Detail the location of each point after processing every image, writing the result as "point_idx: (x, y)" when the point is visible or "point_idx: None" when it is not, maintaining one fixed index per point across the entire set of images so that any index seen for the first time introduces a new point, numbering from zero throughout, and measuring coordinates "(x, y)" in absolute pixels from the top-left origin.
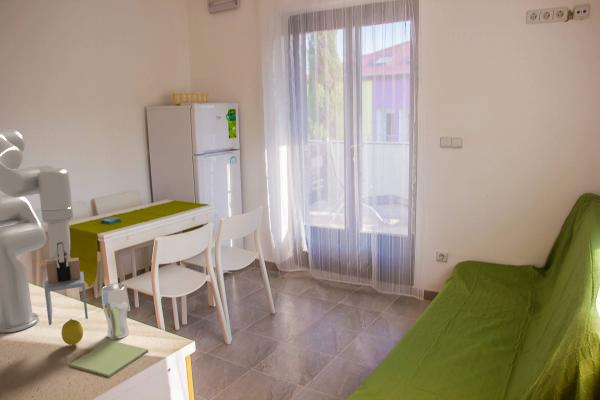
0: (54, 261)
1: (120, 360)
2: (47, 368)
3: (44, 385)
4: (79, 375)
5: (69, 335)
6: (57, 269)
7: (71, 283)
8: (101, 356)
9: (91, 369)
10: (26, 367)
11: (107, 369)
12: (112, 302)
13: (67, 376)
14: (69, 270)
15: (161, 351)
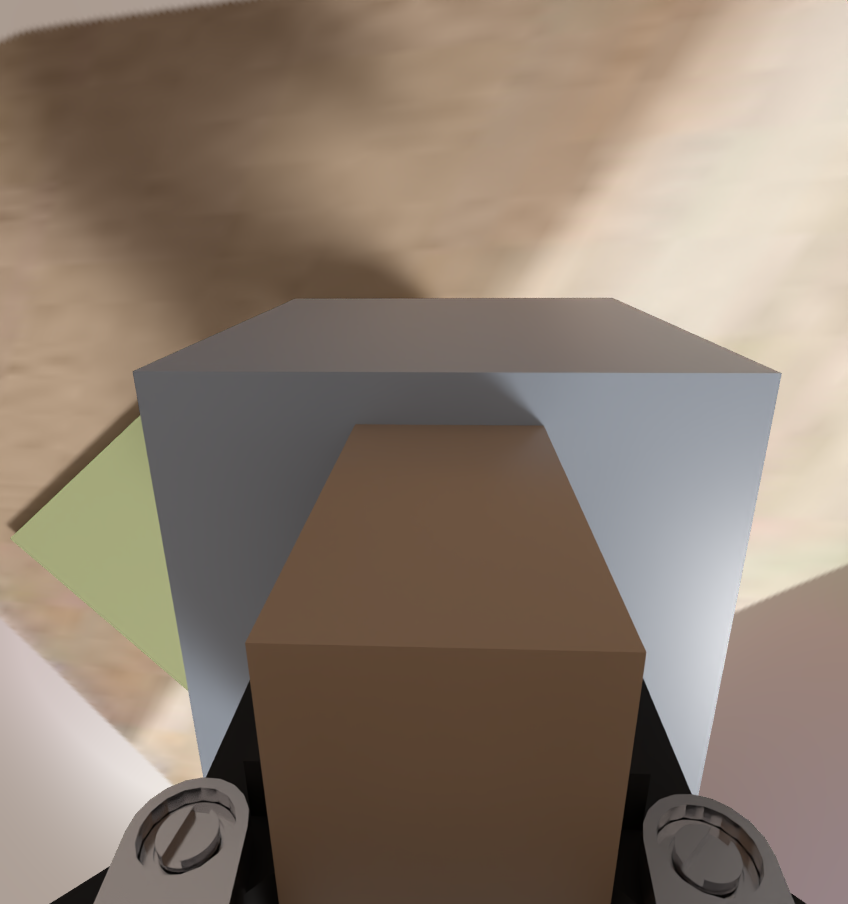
0: (504, 837)
1: (136, 592)
2: (207, 253)
3: (21, 246)
4: (75, 411)
5: None
6: (256, 741)
7: None
8: None
9: (86, 470)
10: (265, 129)
11: (66, 535)
12: None
13: (82, 356)
14: None
15: (187, 738)
